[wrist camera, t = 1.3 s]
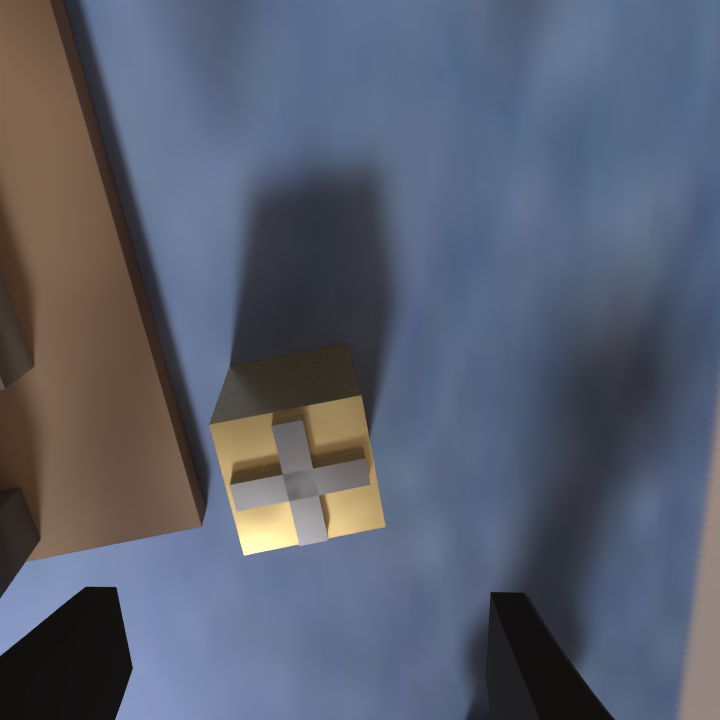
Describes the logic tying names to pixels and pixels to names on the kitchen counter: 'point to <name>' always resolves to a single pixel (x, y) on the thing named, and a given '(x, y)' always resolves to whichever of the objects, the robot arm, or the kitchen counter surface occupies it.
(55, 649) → the robot arm
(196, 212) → the kitchen counter surface
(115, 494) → the coupling base
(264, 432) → the gold square block
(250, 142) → the kitchen counter surface
